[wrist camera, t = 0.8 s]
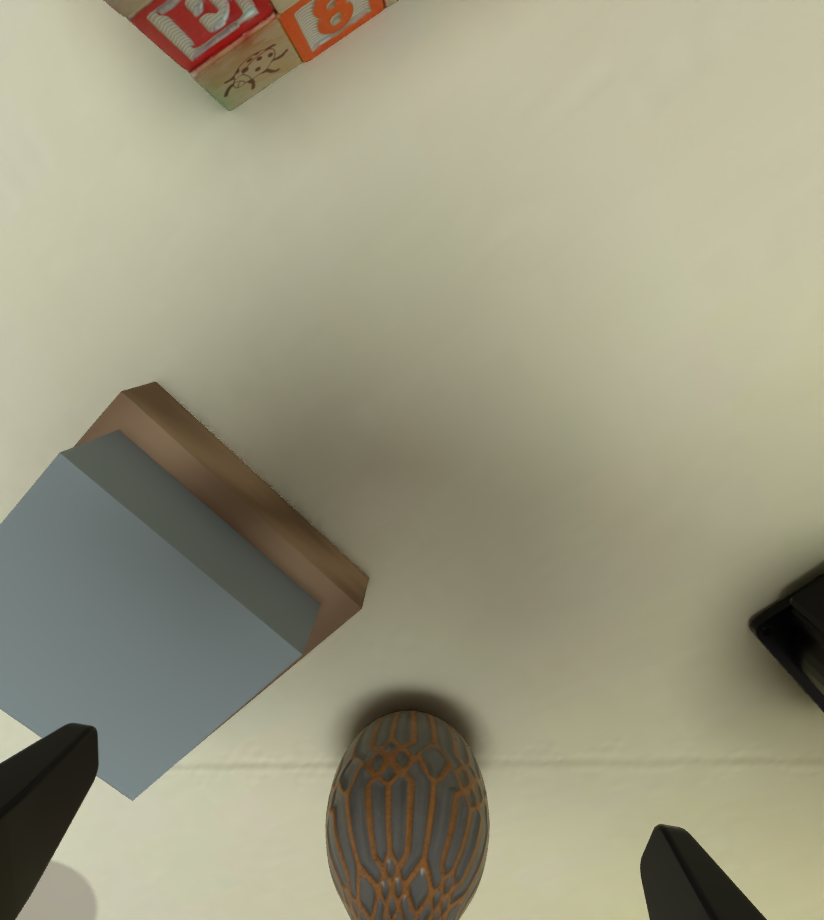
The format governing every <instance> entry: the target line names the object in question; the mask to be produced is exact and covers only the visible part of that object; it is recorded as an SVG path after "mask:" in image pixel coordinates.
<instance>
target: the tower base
mask: <svg viewBox="0 0 824 920" xmlns="http://www.w3.org/2000/svg"><path fill="white" fill-rule="evenodd" d="M116 430H120V431H121V432H122V433H123V434H124V435H125V436H127V437H128V438H129V439H130V440H131V441H132V442H134V443H135V444H136V445H137V446H138V447H139V448H140V449H142V450H143V451H144V452H145V453H146V454H147V455H149V456H150V457H151V458H152V459H153V460H154V461H155V462H157V463H158V464H159V465H160V466H161V467H162V468H164V469H165V470H166V471H167V472H168V473H169V474H171V475H172V476H173V477H174V478H175V479H176V480H177V481H179V482H180V483H181V484H182V485H183V486H184V487H186V488H187V489H188V490H189V491H190V492H191V493H193V494H194V495H195V496H196V497H197V498H198V499H199V500H201V501H202V502H203V503H204V504H205V505H206V506H208V507H209V508H210V509H211V510H212V511H213V512H214V513H216V514H217V515H218V516H219V517H220V518H221V519H223V520H224V521H225V522H226V523H227V524H228V525H230V526H231V527H232V528H233V529H234V530H235V531H236V532H238V533H239V534H240V535H241V536H242V537H243V538H245V539H246V540H247V541H248V542H249V543H250V544H251V545H253V546H254V547H255V548H256V549H257V550H258V551H260V552H261V553H262V554H263V555H264V556H265V557H267V558H268V559H269V560H270V561H271V562H272V563H273V564H275V565H276V566H277V567H278V568H279V569H280V570H282V571H283V572H284V573H285V574H286V575H287V576H289V577H290V578H291V579H292V580H293V581H294V582H295V583H297V584H298V585H299V586H300V587H301V588H302V589H304V590H305V591H306V592H307V593H308V594H309V595H310V596H312V597H313V598H314V599H315V600H316V601H317V602H319V603H320V604H321V605H320V608H319V611H318V613H317V616H316V619H315V622H314V624H313V627H312V630H311V633H310V635H309V638H308V641H307V643H306V646H305V649H304V652H303V654H302V655H301V656H300V657H299V658H298V659H297V660H296V661H294V662H293V663H292V664H291V665H290V666H289V667H287V668H286V669H285V670H284V671H283V672H282V673H280V674H279V675H278V676H277V677H276V678H275V679H273V680H272V681H271V682H270V683H269V684H268V685H266V686H265V687H264V688H263V689H262V690H261V691H260V692H258V693H257V694H256V695H255V696H254V697H253V698H251V699H250V700H249V701H248V702H247V703H246V704H244V705H243V706H242V707H241V708H240V709H239V710H241V709H242V708H243V707H244V706H245V705H247V704H248V703H249V702H250V701H251V700H253V699H254V698H255V697H256V696H257V695H259V694H260V693H261V692H262V691H263V690H265V689H266V688H267V687H268V686H269V685H271V684H272V683H273V682H274V681H275V680H277V679H278V678H279V677H280V676H281V675H283V674H284V673H285V672H286V671H287V670H289V669H290V668H291V667H292V666H293V665H295V664H296V663H297V662H298V661H299V660H301V659H302V658H303V657H304V656H305V655H307V654H308V653H309V652H310V651H311V650H313V649H314V648H315V647H316V646H317V645H319V644H320V643H321V642H322V641H323V640H325V639H326V638H327V637H328V636H329V635H330V634H332V633H333V632H334V631H335V630H336V629H338V628H339V627H340V626H341V625H342V624H344V623H345V622H346V621H347V620H348V619H350V618H351V617H352V616H353V615H354V614H356V613H357V612H358V611H359V610H360V609H362V605H363V601H364V597H365V592H366V588H367V584H368V579H369V578H368V577H367V576H366V575H365V574H364V573H363V572H362V571H361V570H360V569H359V568H358V567H356V566H355V565H354V564H353V563H352V562H351V561H350V560H349V559H348V558H347V557H346V556H344V555H343V554H342V553H341V552H340V551H339V550H338V549H337V548H336V547H335V546H334V545H333V544H331V543H330V542H329V541H328V540H327V539H326V538H325V537H324V536H323V535H322V534H321V533H320V532H318V531H317V530H316V529H315V528H314V527H313V526H312V525H311V524H310V523H309V522H308V521H306V520H305V519H304V518H303V517H302V516H301V515H300V514H299V513H298V512H297V511H296V510H295V509H293V508H292V507H291V506H290V505H289V504H288V503H287V502H286V501H285V500H284V499H283V498H282V497H280V496H279V495H278V494H277V493H276V492H275V491H274V490H273V489H272V488H271V487H270V486H269V485H267V484H266V483H265V482H264V481H263V480H262V479H261V478H260V477H259V476H258V475H257V474H255V473H254V472H253V471H252V470H251V469H250V468H249V467H248V466H247V465H246V464H245V463H244V462H242V461H241V460H240V459H239V458H238V457H237V456H236V455H235V454H234V453H233V452H232V451H231V450H229V449H228V448H227V447H226V446H225V445H224V444H223V443H222V442H221V441H220V440H219V439H217V438H216V437H215V436H214V435H213V434H212V433H211V432H210V431H209V430H208V429H207V428H206V427H204V426H203V425H202V424H201V423H200V422H199V421H198V420H197V419H196V418H195V417H194V416H193V415H191V414H190V413H189V412H188V411H187V410H186V409H185V408H184V407H183V406H182V405H181V404H180V403H178V402H177V401H176V400H175V399H174V398H173V397H172V396H171V395H170V394H169V393H168V392H166V391H165V390H164V389H163V388H162V387H161V386H160V385H159V384H158V383H157V382H153V383H149V384H146V385H142V386H139V387H135V388H132V389H128V390H124V391H121V392H120V394H119V395H118V396H117V397H116V398H115V399H114V401H113V402H112V403H111V404H110V405H109V406H108V408H107V409H106V410H105V411H104V412H103V413H102V415H101V416H100V417H99V418H98V419H97V420H96V422H95V423H94V424H93V425H92V426H91V427H90V429H89V430H88V431H87V432H86V433H85V434H84V436H83V437H82V438H81V439H80V440H79V441H78V443H77V444H76V445H75V446H74V447H76V446H78V445H81V444H83V443H86V442H88V441H91V440H93V439H96V438H98V437H101V436H103V435H106V434H108V433H111V432H113V431H116ZM239 710H237V711H236V712H235V713H234V714H233V715H235V714H236V713H237V712H238V711H239ZM233 715H232V716H233ZM232 716H230V717H229V718H228V719H227V720H229V719H230V718H231V717H232ZM227 720H226V721H227ZM226 721H225V722H226ZM225 722H224V723H225ZM224 723H222V724H221V725H223V724H224ZM221 725H220V726H221ZM220 726H219V727H220ZM219 727H218V728H219ZM218 728H217V729H218ZM217 729H215V730H217ZM215 730H214V731H215ZM214 731H213V732H214ZM213 732H212V733H213ZM212 733H211V734H212ZM211 734H210V735H211ZM208 736H209V735H208ZM208 736H207V737H208ZM207 737H206V738H207ZM206 738H205V739H206ZM205 739H204V740H205ZM201 742H202V741H201ZM201 742H200V743H201ZM200 743H199V744H200ZM199 744H198V745H199ZM194 748H195V747H194ZM194 748H193V749H194ZM193 749H192V750H193ZM186 755H187V754H186Z"/></svg>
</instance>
